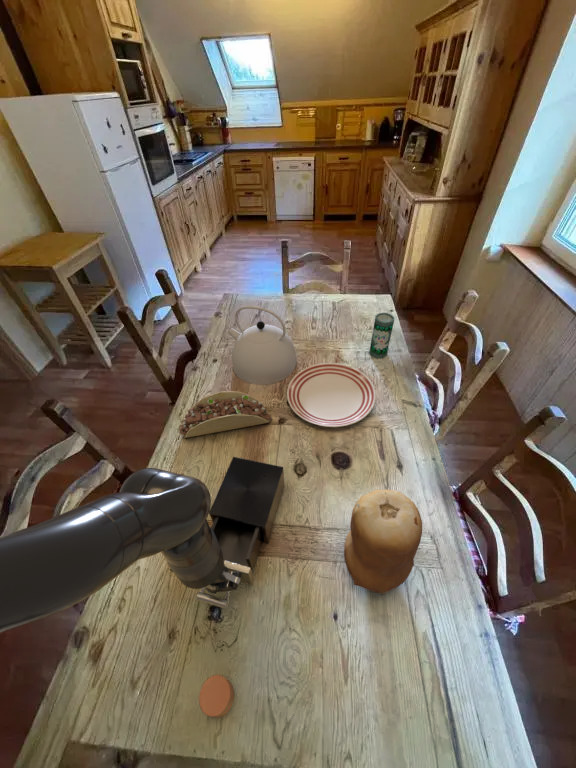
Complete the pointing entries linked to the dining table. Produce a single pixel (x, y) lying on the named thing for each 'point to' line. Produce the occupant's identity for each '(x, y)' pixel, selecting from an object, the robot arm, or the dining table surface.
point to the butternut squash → (382, 540)
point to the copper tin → (216, 696)
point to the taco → (223, 414)
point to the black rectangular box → (250, 494)
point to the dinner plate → (331, 395)
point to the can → (381, 335)
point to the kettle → (262, 352)
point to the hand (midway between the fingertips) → (214, 587)
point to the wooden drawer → (235, 553)
